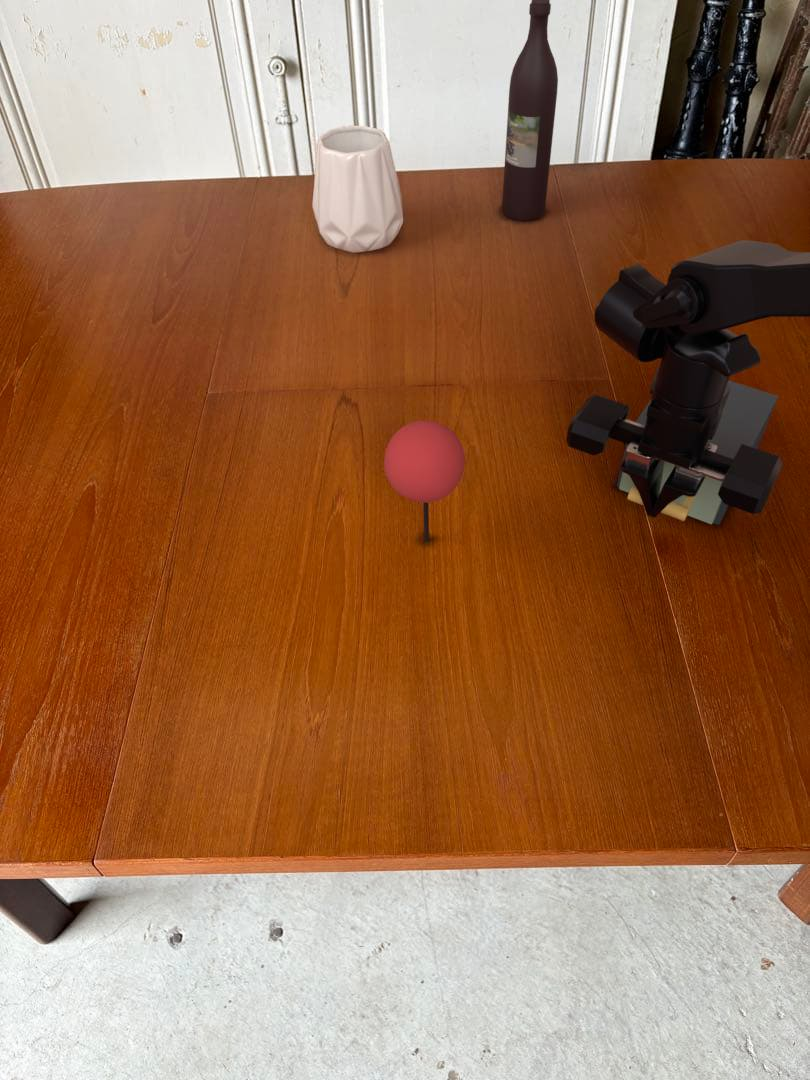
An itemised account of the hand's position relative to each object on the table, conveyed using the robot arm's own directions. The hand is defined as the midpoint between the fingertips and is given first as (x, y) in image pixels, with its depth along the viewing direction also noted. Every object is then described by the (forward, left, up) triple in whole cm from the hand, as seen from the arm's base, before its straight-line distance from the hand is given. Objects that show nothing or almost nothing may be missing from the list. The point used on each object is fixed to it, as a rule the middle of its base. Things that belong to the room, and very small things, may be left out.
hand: (652, 513), depth 82 cm
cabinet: (0, -13, -5) cm, 14 cm away
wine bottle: (+44, -59, -5) cm, 74 cm away
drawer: (0, -9, -4) cm, 10 cm away
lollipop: (+20, +11, -5) cm, 23 cm away
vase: (+63, -39, -5) cm, 74 cm away
